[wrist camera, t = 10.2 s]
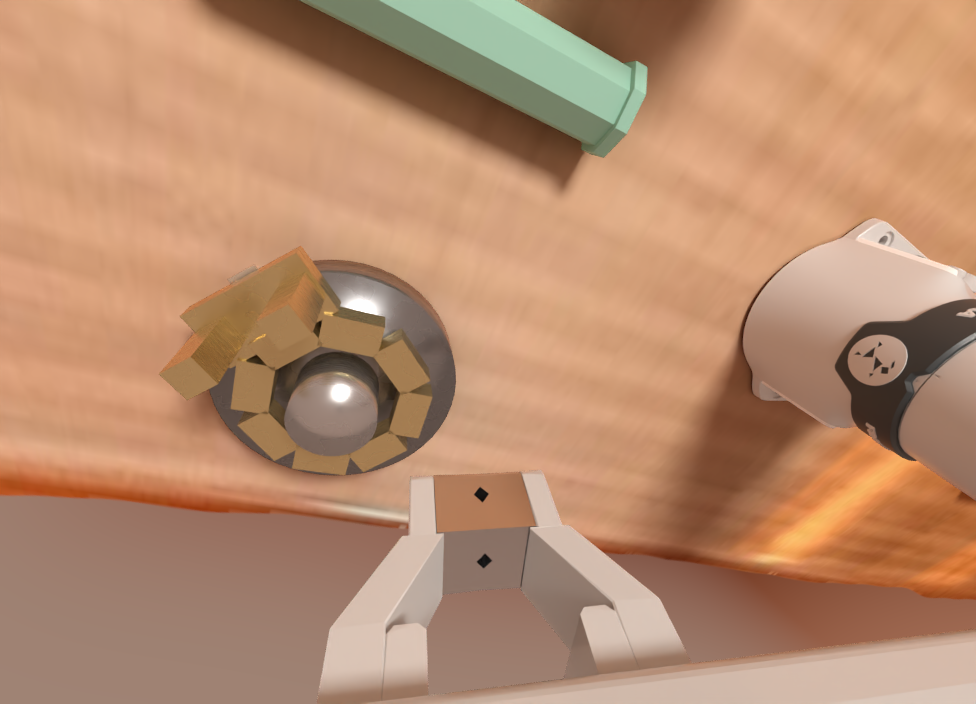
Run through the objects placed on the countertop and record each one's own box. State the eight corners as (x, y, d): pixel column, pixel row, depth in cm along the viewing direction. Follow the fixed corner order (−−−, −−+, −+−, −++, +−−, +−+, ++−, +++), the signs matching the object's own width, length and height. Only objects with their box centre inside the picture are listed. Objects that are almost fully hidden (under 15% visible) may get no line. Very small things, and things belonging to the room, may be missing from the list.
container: (144, -111, 19) (631, 143, 27) (184, -251, 19) (661, 45, 27) (190, -17, 24) (581, 169, 32) (221, -125, 24) (606, 89, 32)
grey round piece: (478, 292, 36) (496, 333, 30) (421, 463, 44) (426, 525, 37) (230, 230, 31) (187, 264, 24) (213, 436, 38) (176, 504, 32)
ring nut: (456, 410, 37) (468, 470, 31) (316, 481, 38) (301, 553, 32) (334, 227, 29) (318, 260, 23) (157, 324, 30) (96, 380, 24)
